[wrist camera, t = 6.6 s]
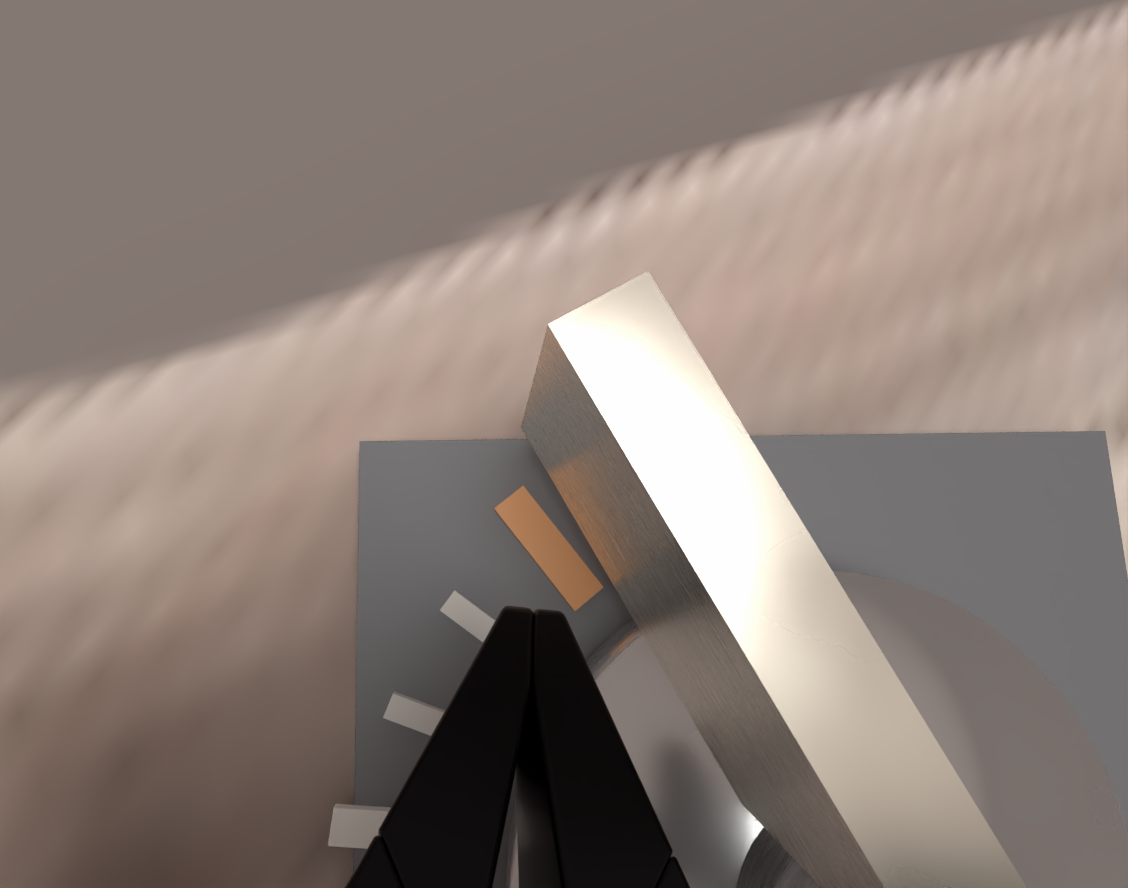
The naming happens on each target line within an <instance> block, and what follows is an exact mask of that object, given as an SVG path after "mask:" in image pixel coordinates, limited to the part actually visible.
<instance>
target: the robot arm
mask: <svg viewBox="0 0 1128 888" xmlns="http://www.w3.org/2000/svg"><path fill="white" fill-rule="evenodd" d="M515 771H516V808H517V842H518V875H519V888H690V886H689V884H688V881H687V879H686V877H685V875H684V873H683V870H682V868H681V866H680V864H679V862H678V860H677V858H676V857H675V856H672V857H671V855H672V853H673V850H672V847H671V845H670V843H669V841H668V838H667V836H666V834H665V832H664V830H663V828H662V825H661V823H660V821H659V819H658V817H657V814H656V812H655V810H654V808H653V806H652V804H651V801H650V799H649V797H648V795H647V793H646V791H645V788H644V786H643V784H642V782H641V780H640V777H639V775H638V773H637V771H636V769H635V767H634V764H633V762H632V760H631V758H630V756H629V753H628V751H627V749H626V747H625V745H624V743H623V740H622V738H621V736H620V734H619V732H618V729H617V727H616V725H615V723H614V721H613V719H612V716H611V714H610V712H609V710H608V708H607V706H606V703H605V701H604V699H603V697H602V695H601V692H600V690H599V688H598V686H597V684H596V682H595V679H594V677H593V675H592V673H591V671H590V668H589V666H588V664H587V662H586V660H585V658H584V655H583V653H582V651H581V649H580V647H579V645H578V642H577V640H576V638H575V636H574V634H573V631H572V629H571V627H570V625H569V623H568V621H567V618H566V617H565V615H564V614H563V613H562V612H561V611H556V610H546V609H536V610H535V611H534V612H532V610H531V609H530V608H527V607H517V606H505V607H504V608H503V609H502V610H501V611H500V613H499V615H498V617H497V618H496V620H495V622H494V624H493V626H492V627H491V629H490V631H489V633H488V635H487V636H486V638H485V640H484V642H483V644H482V645H481V647H480V649H479V651H478V652H477V654H476V656H475V658H474V660H473V661H472V663H471V665H470V667H469V669H468V670H467V672H466V674H465V676H464V678H463V679H462V681H461V683H460V685H459V687H458V688H457V690H456V692H455V694H454V695H453V697H452V699H451V701H450V703H449V704H448V706H447V708H446V710H445V712H444V713H443V715H442V717H441V719H440V721H439V722H438V724H437V726H436V728H435V729H434V731H433V733H432V735H431V737H430V738H429V740H428V742H427V744H426V746H425V747H424V749H423V751H422V753H421V755H420V756H419V758H418V760H417V762H416V763H415V765H414V767H413V769H412V771H411V772H410V774H409V776H408V778H407V780H406V781H405V783H404V785H403V787H402V789H401V790H400V792H399V794H398V796H397V797H396V799H395V801H394V803H393V805H392V806H391V808H390V810H389V812H388V814H387V815H386V817H385V819H384V821H383V823H382V824H381V826H380V828H379V830H378V835H377V836H375V837H374V838H373V840H372V841H371V843H370V845H369V847H368V849H367V850H366V852H365V854H364V856H363V858H362V859H361V861H360V863H359V865H358V866H357V868H356V870H355V872H354V873H353V875H352V877H351V878H350V880H349V882H348V883H347V885H346V887H345V888H492V887H493V882H494V877H495V872H496V867H497V862H498V857H499V852H500V846H501V841H502V836H503V831H504V826H505V821H506V816H507V811H508V806H509V801H510V796H511V791H512V786H513V781H514V776H515ZM670 857H671V858H670Z"/></svg>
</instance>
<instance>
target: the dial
mask: <svg viewBox="0 0 1128 888" xmlns="http://www.w3.org/2000/svg"><path fill="white" fill-rule="evenodd" d="M521 428H522V430H523V432H524V433H525V435H526V437H527V439H528V440H529V442H530V444H531V445H532V447H533V449H534V450H535V452H536V454H537V456H538V457H539V459H540V461H541V462H542V464H543V466H544V468H545V469H546V471H547V473H548V474H549V476H550V478H551V479H552V481H553V483H554V485H555V486H556V488H557V490H558V491H559V493H560V495H561V497H562V498H563V500H564V502H565V503H566V505H567V507H568V508H569V510H570V512H571V514H572V515H573V517H574V519H575V520H576V522H577V524H578V526H579V527H580V529H581V531H582V532H583V534H584V536H585V537H586V539H587V541H588V543H589V544H590V546H591V548H592V549H593V551H594V553H595V555H596V556H597V558H598V560H599V561H600V563H601V565H602V566H603V568H604V570H605V572H606V573H607V575H608V577H609V578H610V580H611V582H612V584H613V585H614V587H615V589H616V590H617V592H618V594H619V595H620V597H621V599H622V601H623V602H624V604H625V606H626V607H627V609H628V611H629V613H630V614H631V616H632V619H631V620H629V621H628V622H627V623H625V624H624V625H623V626H621V627H620V628H618V629H617V630H616V631H615V632H614V633H613V634H612V635H611V636H610V637H609V638H608V639H607V640H606V641H605V642H604V643H603V644H602V645H601V646H600V647H598V648H597V649H596V650H595V651H594V652H593V653H592V654H591V655H590V656H589V658H588V659H587V660H586V662H587V664H588V666H589V668H590V671H591V673H592V675H593V677H594V679H595V682H596V684H597V686H598V688H599V690H600V692H601V695H602V697H603V699H604V701H605V703H606V706H607V708H608V710H609V712H610V714H611V716H612V719H613V721H614V723H615V725H616V727H617V729H618V732H619V734H620V736H621V738H622V740H623V743H624V745H625V747H626V749H627V751H628V753H629V756H630V758H631V760H632V762H633V764H634V767H635V769H636V771H637V773H638V775H639V777H640V780H641V782H642V784H643V786H644V788H645V791H646V793H647V795H648V797H649V799H650V801H651V804H652V806H653V808H654V810H655V812H656V814H657V817H658V819H659V821H660V823H661V825H662V828H663V830H664V832H665V834H666V836H667V838H668V841H669V843H670V845H671V847H672V850H673V853H672V855H671V857H672V856H675V857H676V858H677V860H678V862H679V864H680V866H681V868H682V870H683V873H684V875H685V877H686V879H687V881H688V884H689V886H690V888H1128V832H1127V829H1126V826H1125V822H1124V819H1123V816H1122V812H1121V809H1120V805H1119V802H1118V799H1117V796H1116V794H1115V792H1114V789H1113V787H1112V785H1111V782H1110V780H1109V777H1108V775H1107V773H1106V770H1105V768H1104V766H1103V763H1102V761H1101V759H1100V757H1099V755H1098V753H1097V751H1096V750H1095V748H1094V746H1093V744H1092V742H1091V741H1090V739H1089V737H1088V735H1087V733H1086V732H1085V730H1084V728H1083V726H1082V724H1081V723H1080V721H1079V720H1078V718H1077V717H1076V716H1075V714H1074V713H1073V711H1072V710H1071V709H1070V707H1069V706H1068V704H1067V703H1066V702H1065V700H1064V699H1063V697H1062V696H1061V695H1060V693H1059V692H1058V690H1057V689H1056V688H1055V687H1054V686H1053V684H1052V683H1051V682H1050V681H1049V680H1048V679H1047V678H1046V677H1045V676H1044V675H1043V673H1042V672H1041V671H1040V670H1039V669H1038V668H1037V667H1036V666H1035V665H1034V664H1033V662H1032V661H1031V660H1030V659H1029V658H1028V657H1027V656H1026V655H1024V654H1023V653H1022V652H1021V651H1020V650H1019V649H1018V648H1016V647H1015V646H1014V645H1013V644H1012V643H1011V642H1009V641H1008V640H1007V639H1006V638H1005V637H1004V636H1002V635H1001V634H1000V633H999V632H998V631H996V630H995V629H993V628H992V627H990V626H989V625H987V624H986V623H984V622H983V621H981V620H980V619H978V618H977V617H975V616H974V615H972V614H971V613H969V612H968V611H966V610H965V609H963V608H961V607H958V606H956V605H954V604H952V603H950V602H948V601H946V600H944V599H942V598H940V597H938V596H936V595H934V594H932V593H930V592H927V591H924V590H921V589H918V588H915V587H912V586H909V585H906V584H903V583H901V582H898V581H895V580H890V579H885V578H880V577H874V576H869V575H864V574H859V573H850V572H839V571H832V570H831V568H830V566H829V565H828V563H827V562H826V560H825V558H824V557H823V555H822V553H821V552H820V550H819V549H818V547H817V545H816V544H815V542H814V540H813V539H812V537H811V536H810V534H809V532H808V531H807V529H806V527H805V526H804V524H803V523H802V521H801V519H800V518H799V516H798V514H797V513H796V511H795V510H794V508H793V506H792V505H791V503H790V501H789V500H788V498H787V497H786V495H785V493H784V492H783V490H782V488H781V487H780V485H779V483H778V482H777V480H776V479H775V477H774V475H773V474H772V472H771V470H770V469H769V467H768V466H767V464H766V462H765V461H764V459H763V457H762V456H761V454H760V453H759V451H758V449H757V448H756V446H755V444H754V443H753V441H752V440H751V438H750V436H749V435H748V433H747V431H746V430H745V428H744V427H743V425H742V423H741V422H740V420H739V418H738V417H737V415H736V414H735V412H734V410H733V409H732V407H731V405H730V404H729V402H728V401H727V399H726V397H725V396H724V394H723V392H722V391H721V389H720V388H719V386H718V384H717V383H716V381H715V379H714V378H713V376H712V375H711V373H710V371H709V370H708V368H707V366H706V365H705V363H704V361H703V360H702V358H701V357H700V355H699V353H698V352H697V350H696V348H695V347H694V345H693V344H692V342H691V340H690V339H689V337H688V335H687V334H686V332H685V331H684V329H683V327H682V326H681V324H680V322H679V321H678V319H677V318H676V316H675V314H674V313H673V311H672V309H671V308H670V306H669V305H668V303H667V301H666V300H665V298H664V296H663V295H662V293H661V292H660V290H659V288H658V287H657V285H656V283H655V282H654V280H653V279H652V277H651V275H650V274H649V272H648V271H647V272H645V273H643V274H641V275H639V276H637V277H635V278H633V279H632V280H630V281H628V282H626V283H624V284H622V285H620V286H619V287H617V288H615V289H613V290H611V291H609V292H607V293H605V294H604V295H602V296H600V297H598V298H596V299H594V300H592V301H590V302H589V303H587V304H585V305H583V306H581V307H579V308H577V309H576V310H574V311H572V312H570V313H568V314H566V315H564V316H562V317H561V318H559V319H557V320H555V321H553V322H551V323H549V324H548V326H547V329H546V333H545V337H544V341H543V345H542V349H541V352H540V356H539V360H538V364H537V368H536V372H535V375H534V379H533V383H532V387H531V391H530V395H529V398H528V402H527V406H526V410H525V414H524V418H523V421H522V425H521ZM671 857H670V858H671ZM506 888H519V875H518V842H517V808H516V801H515V807H514V812H513V817H512V823H511V828H510V834H509V842H508V858H507V875H506Z"/></svg>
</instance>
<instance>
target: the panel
mask: <svg viewBox="0 0 1128 888" xmlns="http://www.w3.org/2000/svg"><path fill="white" fill-rule="evenodd" d="M750 438H751V440H752V441H753V443H754V444H755V446H756V448H757V449H758V451H759V453H760V454H761V456H762V457H763V459H764V461H765V462H766V464H767V466H768V467H769V469H770V470H771V472H772V474H773V475H774V477H775V479H776V480H777V482H778V483H779V485H780V487H781V488H782V490H783V492H784V493H785V495H786V497H787V498H788V500H789V501H790V503H791V505H792V506H793V508H794V510H795V511H796V513H797V514H798V516H799V518H800V519H801V521H802V523H803V524H804V526H805V527H806V529H807V531H808V532H809V534H810V536H811V537H812V539H813V540H814V542H815V544H816V545H817V547H818V549H819V550H820V552H821V553H822V555H823V557H824V558H825V560H826V562H827V563H828V565H829V566H830V568H831V570H832V571H839V572H850V573H859V574H864V575H869V576H874V577H880V578H885V579H890V580H895V581H898V582H901V583H903V584H906V585H909V586H912V587H915V588H918V589H921V590H924V591H927V592H930V593H932V594H934V595H936V596H938V597H940V598H942V599H944V600H946V601H948V602H950V603H952V604H954V605H956V606H958V607H961V608H963V609H965V610H966V611H968V612H969V613H971V614H972V615H974V616H975V617H977V618H978V619H980V620H981V621H983V622H984V623H986V624H987V625H989V626H990V627H992V628H993V629H995V630H996V631H998V632H999V633H1000V634H1001V635H1002V636H1004V637H1005V638H1006V639H1007V640H1008V641H1009V642H1011V643H1012V644H1013V645H1014V646H1015V647H1016V648H1018V649H1019V650H1020V651H1021V652H1022V653H1023V654H1024V655H1026V656H1027V657H1028V658H1029V659H1030V660H1031V661H1032V662H1033V664H1034V665H1035V666H1036V667H1037V668H1038V669H1039V670H1040V671H1041V672H1042V673H1043V675H1044V676H1045V677H1046V678H1047V679H1048V680H1049V681H1050V682H1051V683H1052V684H1053V686H1054V687H1055V688H1056V689H1057V690H1058V692H1059V693H1060V695H1061V696H1062V697H1063V699H1064V700H1065V702H1066V703H1067V704H1068V706H1069V707H1070V709H1071V710H1072V711H1073V713H1074V714H1075V716H1076V717H1077V718H1078V720H1079V721H1080V723H1081V724H1082V726H1083V728H1084V730H1085V732H1086V733H1087V735H1088V737H1089V739H1090V741H1091V742H1092V744H1093V746H1094V748H1095V750H1096V751H1097V753H1098V755H1099V757H1100V759H1101V761H1102V763H1103V766H1104V768H1105V770H1106V773H1107V775H1108V777H1109V780H1110V782H1111V785H1112V787H1113V789H1114V792H1115V794H1116V796H1117V799H1118V802H1119V805H1120V809H1121V812H1122V816H1123V819H1124V822H1125V826H1126V829H1127V832H1128V577H1127V571H1126V564H1125V558H1124V551H1123V545H1122V538H1121V532H1120V525H1119V518H1118V512H1117V505H1116V499H1115V492H1114V486H1113V479H1112V473H1111V466H1110V460H1109V453H1108V447H1107V440H1106V434H1105V431H1079V432H1006V433H934V434H862V435H790V436H750ZM505 606H517V607H527V608H530V609H531V610H532V612H534V611H535V610H536V609H546V610H556V611H561V612H562V613H563V614H564V615H565V617H566V618H567V621H568V623H569V625H570V627H571V629H572V631H573V634H574V636H575V638H576V640H577V642H578V645H579V647H580V649H581V651H582V653H583V655H584V658H585V660H587V659H588V658H589V656H590V655H591V654H592V653H593V652H594V651H595V650H596V649H597V648H598V647H600V646H601V645H602V644H603V643H604V642H605V641H606V640H607V639H608V638H609V637H610V636H611V635H612V634H613V633H614V632H615V631H616V630H617V629H618V628H620V627H621V626H623V625H624V624H625V623H627V622H628V621H629V620H631V619H632V616H631V614H630V613H629V611H628V609H627V607H626V606H625V604H624V602H623V601H622V599H621V597H620V595H619V594H618V592H617V590H616V589H615V587H614V585H613V584H612V582H611V580H610V578H609V577H608V575H607V573H606V572H605V570H604V568H603V566H602V565H601V563H600V561H599V560H598V558H597V556H596V555H595V553H594V551H593V549H592V548H591V546H590V544H589V543H588V541H587V539H586V537H585V536H584V534H583V532H582V531H581V529H580V527H579V526H578V524H577V522H576V520H575V519H574V517H573V515H572V514H571V512H570V510H569V508H568V507H567V505H566V503H565V502H564V500H563V498H562V497H561V495H560V493H559V491H558V490H557V488H556V486H555V485H554V483H553V481H552V479H551V478H550V476H549V474H548V473H547V471H546V469H545V468H544V466H543V464H542V462H541V461H540V459H539V457H538V456H537V454H536V452H535V450H534V449H533V447H532V445H531V444H530V442H529V440H528V439H500V440H428V441H360V449H359V518H358V587H357V656H356V725H355V794H354V805H347V804H335V806H334V808H333V814H332V821H331V827H330V834H329V841H328V846H334V847H349V848H354V863H353V873H354V872H355V870H356V868H357V866H358V865H359V863H360V861H361V859H362V858H363V856H364V854H365V852H366V850H367V849H368V847H369V845H370V843H371V841H372V840H373V838H374V837H375V836H377V835H378V830H379V828H380V826H381V824H382V823H383V821H384V819H385V817H386V815H387V814H388V812H389V810H390V808H391V806H392V805H393V803H394V801H395V799H396V797H397V796H398V794H399V792H400V790H401V789H402V787H403V785H404V783H405V781H406V780H407V778H408V776H409V774H410V772H411V771H412V769H413V767H414V765H415V763H416V762H417V760H418V758H419V756H420V755H421V753H422V751H423V749H424V747H425V746H426V744H427V742H428V740H429V738H430V737H431V735H432V733H433V731H434V729H435V728H436V726H437V724H438V722H439V721H440V719H441V717H442V715H443V713H444V712H445V710H446V708H447V706H448V704H449V703H450V701H451V699H452V697H453V695H454V694H455V692H456V690H457V688H458V687H459V685H460V683H461V681H462V679H463V678H464V676H465V674H466V672H467V670H468V669H469V667H470V665H471V663H472V661H473V660H474V658H475V656H476V654H477V652H478V651H479V649H480V647H481V645H482V644H483V642H484V640H485V638H486V636H487V635H488V633H489V631H490V629H491V627H492V626H493V624H494V622H495V620H496V618H497V617H498V615H499V613H500V611H501V610H502V609H503V608H504V607H505ZM515 801H516V771H515V776H514V781H513V786H512V791H511V796H510V801H509V806H508V811H507V816H506V821H505V826H504V831H503V836H502V841H501V846H500V852H499V857H498V862H497V867H496V872H495V877H494V882H493V887H492V888H506V875H507V858H508V842H509V834H510V828H511V823H512V817H513V812H514V807H515Z"/></svg>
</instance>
